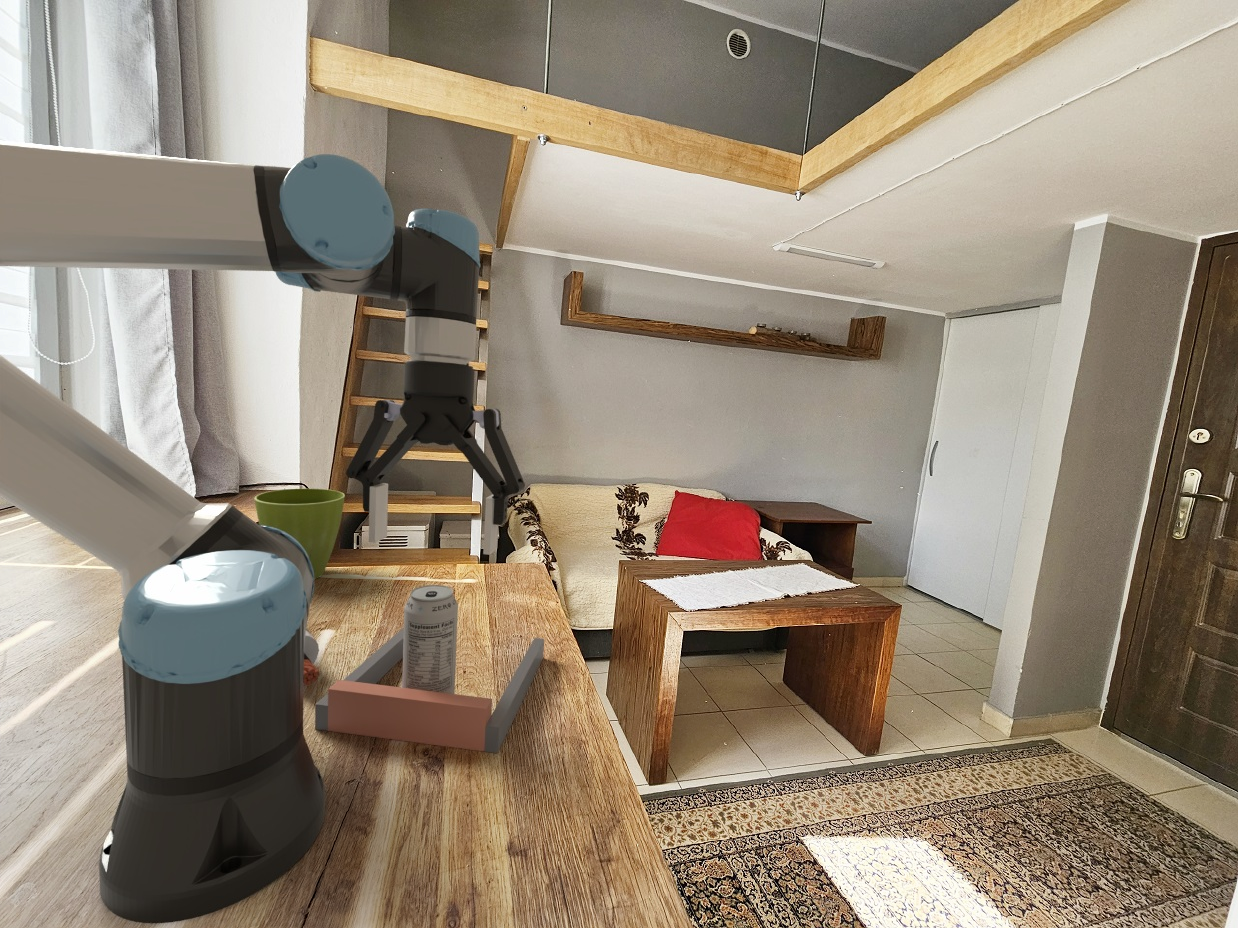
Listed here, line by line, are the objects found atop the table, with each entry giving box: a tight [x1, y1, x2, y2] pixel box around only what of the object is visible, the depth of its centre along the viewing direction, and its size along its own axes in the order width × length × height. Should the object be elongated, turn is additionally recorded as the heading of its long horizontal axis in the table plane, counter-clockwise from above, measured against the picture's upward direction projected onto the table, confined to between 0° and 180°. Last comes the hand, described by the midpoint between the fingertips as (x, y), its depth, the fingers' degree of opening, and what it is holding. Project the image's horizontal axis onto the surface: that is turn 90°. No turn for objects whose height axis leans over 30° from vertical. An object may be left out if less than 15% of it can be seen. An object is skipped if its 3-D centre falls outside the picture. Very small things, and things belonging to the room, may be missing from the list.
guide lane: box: [314, 627, 545, 754], centre depth 71 cm, size 22×21×5 cm
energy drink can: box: [401, 584, 459, 694], centre depth 65 cm, size 6×6×15 cm
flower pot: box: [254, 488, 346, 580], centre depth 105 cm, size 15×15×16 cm
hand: (433, 545), depth 63 cm, fingers open, 13 cm apart
